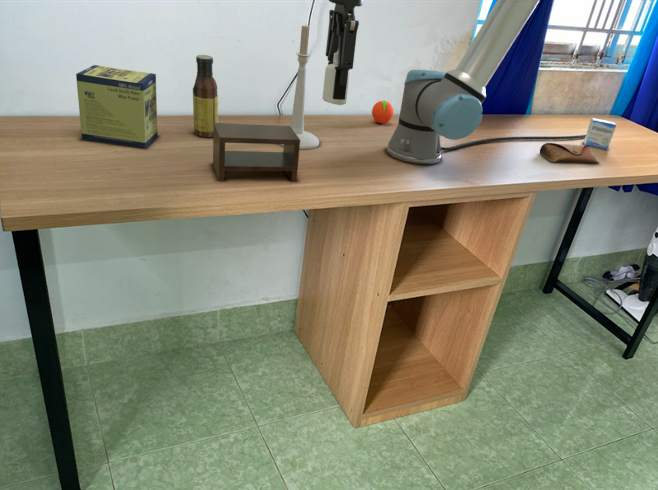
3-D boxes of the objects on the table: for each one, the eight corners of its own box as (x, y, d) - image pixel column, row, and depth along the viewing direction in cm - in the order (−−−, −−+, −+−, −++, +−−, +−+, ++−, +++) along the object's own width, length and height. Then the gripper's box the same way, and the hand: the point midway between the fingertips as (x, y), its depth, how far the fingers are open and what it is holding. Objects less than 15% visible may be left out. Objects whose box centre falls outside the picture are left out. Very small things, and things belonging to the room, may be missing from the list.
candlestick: (266, 143, 165) (273, 22, 149) (280, 130, 175) (288, 17, 160) (312, 152, 164) (325, 31, 148) (323, 139, 175) (335, 25, 159)
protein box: (146, 149, 148) (143, 83, 140) (80, 140, 147) (74, 72, 139) (159, 136, 157) (157, 73, 149) (97, 127, 156) (91, 63, 148)
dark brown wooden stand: (286, 165, 152) (290, 126, 147) (296, 181, 145) (300, 139, 139) (212, 164, 146) (213, 122, 141) (218, 180, 138) (219, 137, 133)
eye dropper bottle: (336, 98, 145) (342, 45, 139) (348, 105, 141) (354, 50, 135) (320, 98, 143) (325, 44, 137) (331, 105, 139) (337, 50, 133)
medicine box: (584, 145, 210) (592, 120, 205) (583, 141, 213) (591, 117, 209) (607, 150, 209) (616, 124, 204) (606, 146, 212) (615, 121, 208)
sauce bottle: (207, 129, 167) (208, 52, 157) (222, 136, 164) (224, 58, 154) (187, 132, 163) (187, 54, 152) (203, 139, 160) (203, 60, 149)
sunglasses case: (554, 162, 186) (553, 139, 186) (539, 166, 192) (539, 144, 192) (601, 163, 192) (601, 141, 192) (586, 167, 199) (585, 146, 198)
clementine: (392, 128, 194) (396, 105, 190) (370, 125, 193) (374, 102, 189) (390, 121, 200) (394, 99, 197) (369, 118, 200) (373, 96, 196)
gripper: (318, -25, 135) (308, 83, 147) (343, -13, 121) (330, 106, 133) (350, -21, 138) (338, 85, 150) (379, -9, 124) (363, 107, 136)
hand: (334, 95), depth 141 cm, fingers closed on eye dropper bottle, 5 cm apart
